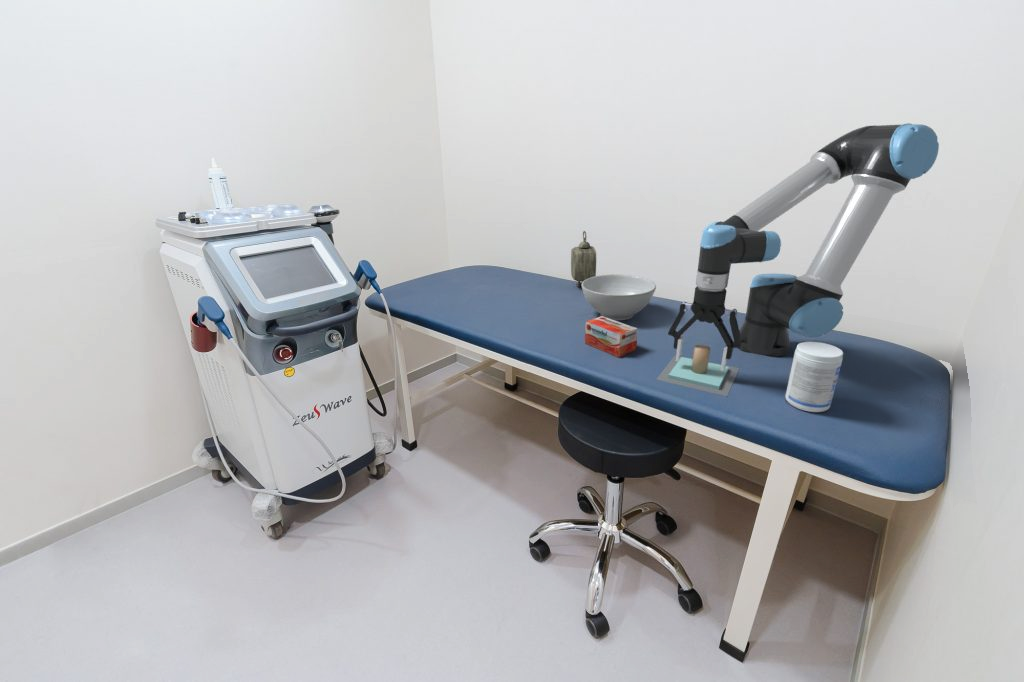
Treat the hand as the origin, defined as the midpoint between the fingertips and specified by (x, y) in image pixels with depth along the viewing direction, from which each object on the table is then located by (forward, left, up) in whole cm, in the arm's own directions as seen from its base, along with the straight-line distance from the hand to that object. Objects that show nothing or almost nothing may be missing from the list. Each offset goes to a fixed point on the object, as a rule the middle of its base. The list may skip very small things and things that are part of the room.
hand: (700, 364), depth 127 cm
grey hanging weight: (-62, -65, -4) cm, 90 cm away
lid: (0, 0, -3) cm, 3 cm away
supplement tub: (+2, +26, -4) cm, 26 cm away
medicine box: (-6, -29, -4) cm, 30 cm away
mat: (0, 0, -4) cm, 4 cm away
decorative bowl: (-35, -38, -4) cm, 52 cm away
